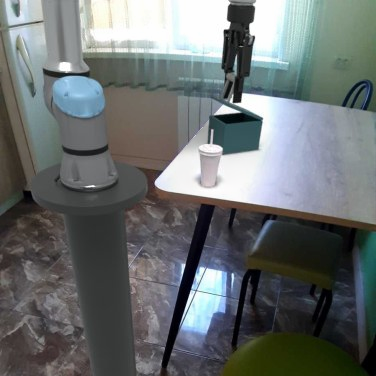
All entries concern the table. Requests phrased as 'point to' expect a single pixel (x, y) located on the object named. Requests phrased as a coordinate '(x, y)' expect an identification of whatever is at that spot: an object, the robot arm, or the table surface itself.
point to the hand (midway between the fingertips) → (232, 100)
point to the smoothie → (209, 162)
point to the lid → (227, 103)
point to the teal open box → (235, 132)
